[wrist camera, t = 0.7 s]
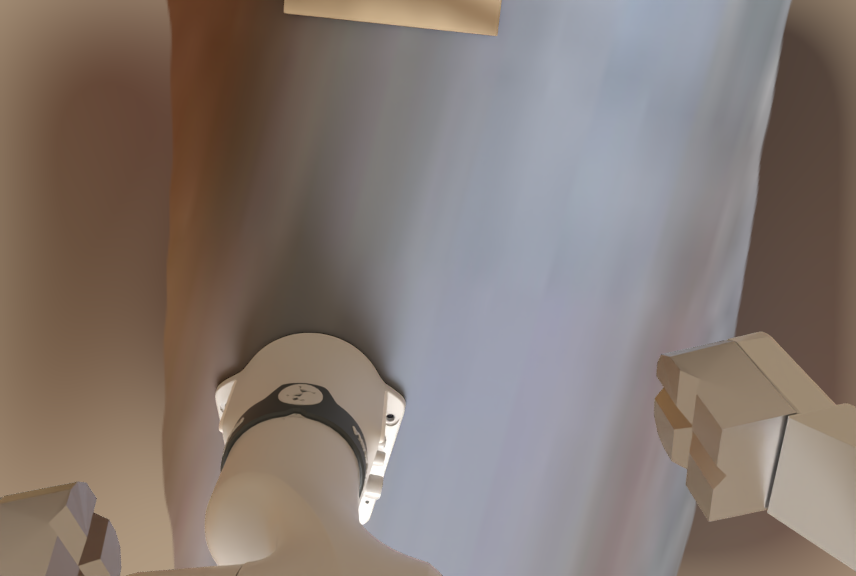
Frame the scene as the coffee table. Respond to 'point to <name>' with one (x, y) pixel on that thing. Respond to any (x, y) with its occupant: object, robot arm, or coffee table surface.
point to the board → (408, 13)
